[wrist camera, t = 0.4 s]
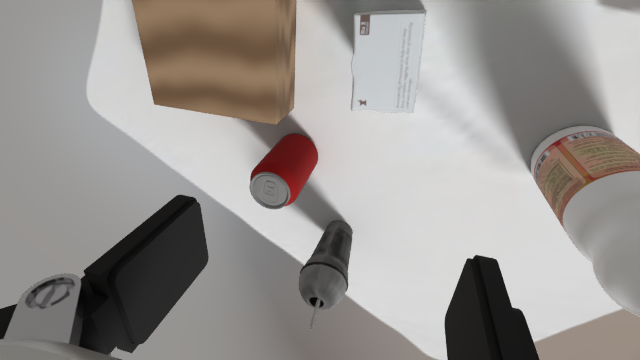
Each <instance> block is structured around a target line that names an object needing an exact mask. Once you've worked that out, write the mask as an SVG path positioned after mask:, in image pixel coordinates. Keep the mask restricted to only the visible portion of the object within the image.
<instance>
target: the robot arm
mask: <svg viewBox="0 0 640 360" xmlns="http://www.w3.org/2000/svg"><path fill="white" fill-rule="evenodd" d="M207 262H208V250H207V245H206V238H205V232H204V226H203V220H202V214H201V207H200V204H199V203H198V202H197V200H196V199H195V198H194V197H189V196H184V195H177V196H176V197H174V198H173V199H172V200H171V201H169V202H168V203H167V204H166V205H164V206H163V207H162V208H161V209H159V210H158V211H157V212H156V213H154V214H153V215H152V216H151V217H150V218H148V219H147V220H146V221H145V222H143V223H142V224H141V225H140V226H138V227H137V228H136V229H135V230H134V231H132V232H131V233H130V234H128V235H127V236H126V237H125V238H123V239H122V240H121V241H120V242H119V243H117V244H116V245H115V246H114V247H112V248H111V249H110V250H109V251H107V252H106V253H105V254H104V255H103V256H101V257H100V258H99V259H98V260H96V261H95V262H94V263H92V264H91V265H90V266H89V267H88V268H86V269H85V270H84V273H85V276H84V277H83V278H81V279H80V278H79V277H78V276H76V275H73V274H59V275H54V276H51V277H48V278H45V279H43V280H41V281H39V282H37V283H36V284H34V285H33V286H31V287H30V288H29V289H28V290H27V291H25V293H23V295H22V296H21V298H20V299H19V301H18V304H16V305H12V306H8V307H5V308H2V309H0V360H121V359H118V358H115V357H112V356H111V352H112V351H113V349H114V348H115V347H116V346H117V348H118V349H120V350H123V351H127V352H130V353H132V352H133V351H134V350H135V349H136V347H137V346H138V345H139V344H142V343H144V342H145V341H146V340H147V339H148V337H149V336H150V335H151V334H152V333H153V331H154V330H155V329H156V328H157V326H158V325H159V324H160V322H161V321H162V320H163V319H164V318H165V316H166V315H167V314H168V313H169V311H170V310H171V308H172V307H173V306H174V305H175V304H176V302H177V301H178V300H179V299H180V297H181V296H182V295H183V294H184V292H185V291H186V290H187V289H188V287H189V286H190V285H191V284H192V282H193V281H194V280H195V279H196V277H197V276H198V275H199V274H200V272H201V271H202V270H203V269H204V267H205V266H206V264H207ZM445 335H446V346H447V357H448V360H539V357H538V354H537V351H536V348H535V346H534V343H533V340H532V337H531V334H530V331H529V328H528V325H527V322H526V319H525V317H524V315H523V313H522V311H521V310H520V309H516V308H512V306H511V303H510V300H509V296H508V293H507V290H506V287H505V284H504V281H503V277H502V274H501V271H500V268H499V265H498V262H497V260H496V259H493V258H488V257H483V256H478V255H475V256H474V258H473V259H470V258H468V259H467V260H466V263H465V265H464V268H463V271H462V273H461V276H460V279H459V281H458V284H457V286H456V289H455V292H454V294H453V297H452V300H451V302H450V305H449V308H448V310H447V313H446V316H445Z"/></svg>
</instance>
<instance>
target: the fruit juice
mask: <svg viewBox="0 0 640 360" xmlns="http://www.w3.org/2000/svg"><path fill="white" fill-rule="evenodd" d="M531 173H532V176H533V179H534V180H535V182H536V184H537V185H538V187H539V189H540V190H541V192H542V194H543V195H544V197H545V199H546V200H547V202H548V203H549V205H550V207H551V208H552V210H553V212H554V213H555V215H556V217H557V218H558V220H559V221H560V223H561V225H562V226H563V228H564V230H565V232H566V234H567V235H568V237H569V238H570V240H571V241H572V243H573V244H574V245H575V247H576V248H577V249H578V250H579V251H580V253H581V254H582V255H583V256H585V257H586V258H587V259H588V260H589V261H591V262H592V265H593V270H594V273H595V276H596V278H597V280H598V282H599V284H600V285H601V287H602V288H603V289H604V291H605V292H606V293H607V294H608V296H609V297H610V298H611V299H612V300H613V301H615V302H616V303H617V304H618V305H620V306H621V307H622V308H624V309H626V310H627V311H629V312H631V313H633V314H635V315H637V316H639V317H640V154H639V153H638V152H636V151H635V150H633V149H632V148H631V147H629V146H628V145H627V144H625V143H624V142H623V141H621V140H620V139H619V138H617V137H616V136H615V135H613V134H612V133H610V132H608V131H606V130H603V129H601V128H597V127H592V126H574V127H569V128H566V129H562V130H560V131H558V132H555V133H554V134H552V135H550V136H549V137H547V138H546V139H545V140H543V141H542V142H541V143H540V144H539V146H538V147H537V148H536V150H535V151H534V153H533V156H532V159H531Z"/></svg>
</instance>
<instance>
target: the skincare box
mask: <svg viewBox="0 0 640 360" xmlns="http://www.w3.org/2000/svg"><path fill="white" fill-rule="evenodd" d="M425 16H426V10H383V11H372V12H363V13H355V14H354V50H353V58H352V63H351V70H352V74H353V90H352V101H351V110H352V111H365V112H394V113H413V111H414V105H415V99H416V93H417V86H418V79H419V71H420V63H421V54H422V45H423V36H424V26H425Z"/></svg>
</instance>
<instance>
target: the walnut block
mask: <svg viewBox="0 0 640 360" xmlns="http://www.w3.org/2000/svg"><path fill="white" fill-rule="evenodd" d="M132 2H133V7H134V12H135V16H136V21H137V26H138V30H139V35H140V40H141V44H142V49H143V54H144V58H145V63H146V68H147V72H148V77H149V82H150V87H151V91H152V96H153V101H154V104H155V105H161V106H167V107H173V108H179V109H185V110H191V111H197V112H203V113H209V114H215V115H221V116H227V117H233V118H239V119H245V120H251V121H256V122H262V123H268V124H274V125H276V124H277V123H278V122H280V121H281V120H282V119H283V118H284V117H285V116H286V115H287V114H288V113H289V112H290V111H291V110H292V109H293V108H294V80H295V37H296V0H132Z"/></svg>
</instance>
